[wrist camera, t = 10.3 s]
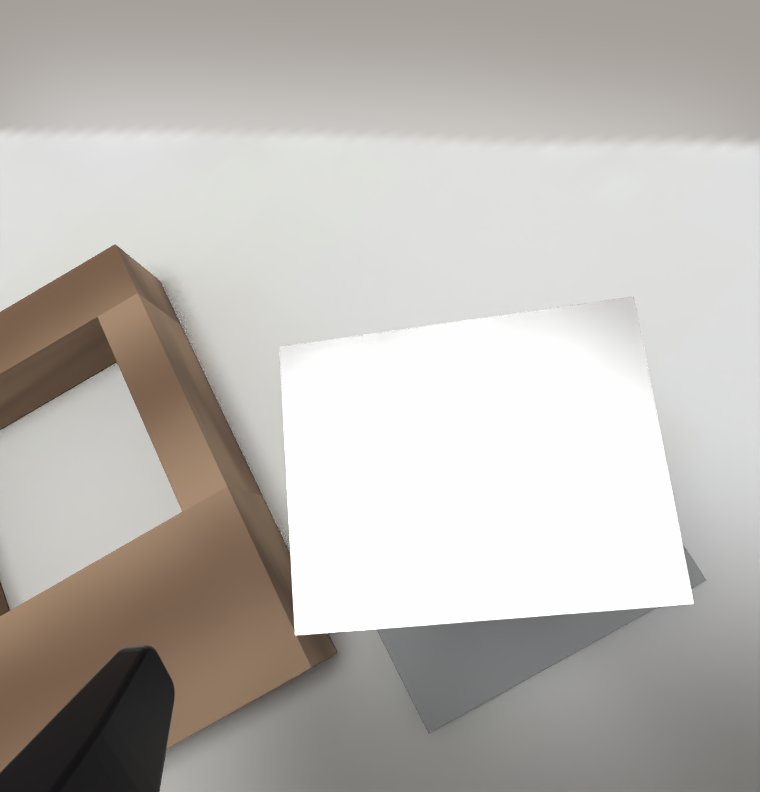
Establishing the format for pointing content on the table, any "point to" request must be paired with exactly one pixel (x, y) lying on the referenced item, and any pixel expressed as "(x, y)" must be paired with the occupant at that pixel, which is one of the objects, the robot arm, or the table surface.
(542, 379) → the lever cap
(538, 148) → the table surface
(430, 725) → the rubber mat
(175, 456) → the brown wooden rectangular frame
